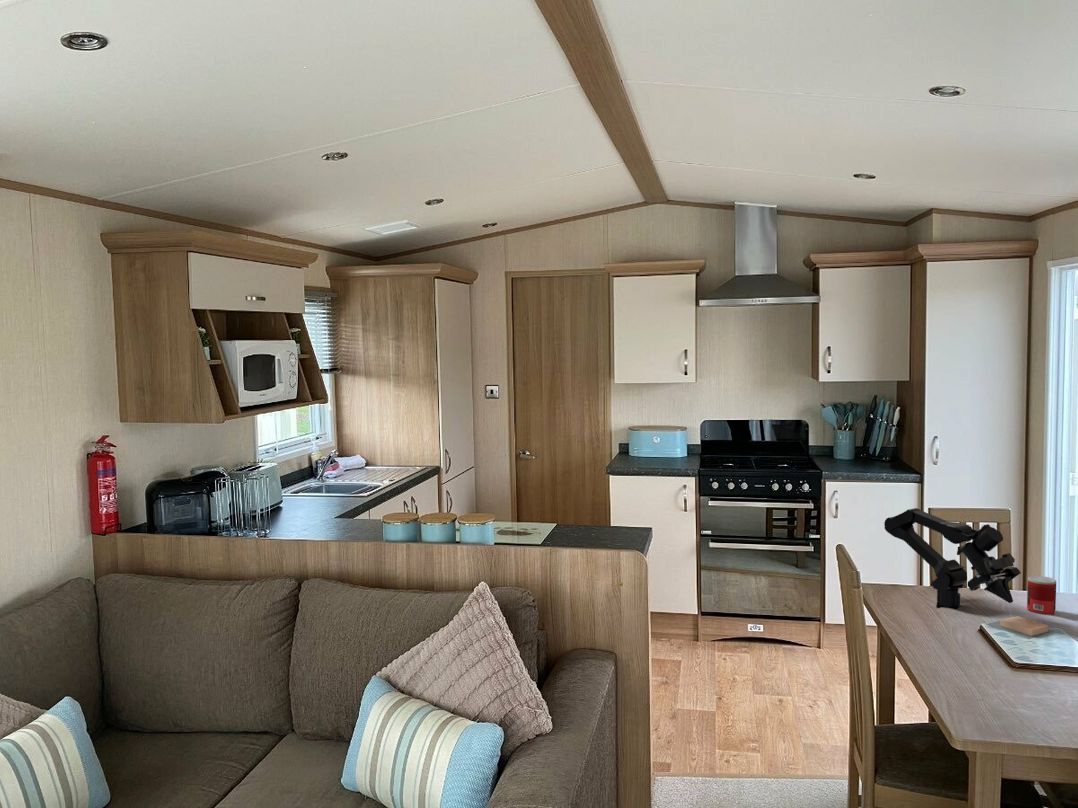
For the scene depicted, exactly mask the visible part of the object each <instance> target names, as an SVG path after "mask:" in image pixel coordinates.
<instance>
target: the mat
mask: <svg viewBox="0 0 1078 808" xmlns="http://www.w3.org/2000/svg"><path fill="white" fill-rule="evenodd" d="M985 625H986V626H989V627H991V628H995V629H997V630H1001V631H1003V632H1007V633H1010V634H1013V635H1016V636H1020V637H1023V638H1026V639H1032V638H1035V637H1040V636H1044V635H1046V634H1049V633H1053V632H1054V630H1051V629H1048V631H1047V632H1046V633H1042V634H1039V635H1035V636H1032V637H1031V636H1028V635H1025V634H1022V633H1019V632H1016V631H1013V630H1010V629H1007V628H1003V627H1001V626H1000V620H997V621H993V622H990V623H989V622H988V623H986V624H985Z"/></svg>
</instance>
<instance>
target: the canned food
mask: <svg viewBox="0 0 1078 808" xmlns="http://www.w3.org/2000/svg"><path fill="white" fill-rule="evenodd" d="M1026 588H1027V590H1026V591H1027V592H1026V593H1027V594H1026V595H1027V597H1026V608H1027V610H1028V611H1029V612H1031V613H1034V614H1038V615H1039V614H1040V615H1051V616H1054V615H1055V614H1056V605H1057V580H1056V579H1055V578H1053V577H1049V576H1044V575H1031V576H1028V578H1027V587H1026Z"/></svg>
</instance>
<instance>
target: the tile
mask: <svg viewBox="0 0 1078 808" xmlns="http://www.w3.org/2000/svg"><path fill="white" fill-rule="evenodd" d="M999 621H1000V626H1001V627H1003V628H1007V629H1010V630H1013V631H1016V632H1019V633H1022V634H1025V635H1028V636H1031V637H1032V636H1035V635H1039V634H1042V633H1046V632H1047V631H1048V630H1050V629H1049V625H1048V624H1045V623H1040V622H1038V621H1034V620H1032V619H1028V618H1025V617H1021V616H1018V615H1016V616H1012V617H1009V618H1004V619H1001V620H999Z"/></svg>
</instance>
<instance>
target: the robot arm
mask: <svg viewBox="0 0 1078 808" xmlns="http://www.w3.org/2000/svg"><path fill="white" fill-rule="evenodd" d="M914 524H918V525H921V526H923V527H925V528H927V529H930V530H932V531H935V532H936V533H939V534H941V535H942V536H943V538H944V539H945V540H947V541H949V542H950V543H952V544H955V545H959V544H963V543H964V545H959V546H957V551H956V555H957V556H961V555H964V556H965V557H966V559H967V560H968V562H969V563H970V565H972V566H971V567H970V569H971V570H972V571H976V572H977V574H976V575H974V576H973V577H972V578H971V579H969V580H968V575H967V574H968V572H967V571H966V570H965V566H962V565H961V564H960V563H959V562H958V561H957V560H956V559H950V560H947V559H945V558H944V557H943V556H942V555H941V554H940V553H939V552H937V550H936V549H934V548H933V547H932V546H931V545H930V544H929V543H928V542H926V540H925V539H924V538H923V537H921V536H920V535H919V534H918V533H917V532H916V530H915V527H914ZM883 525H884V530H885V531H886V532H887V534H889V535H891V536H892V537H894V538H896V539H899V540H902V541H903V542H905V543H906V544H907V545H908V546H909V547H910V548H911V549H912V550H913V551H914V552H916V554H917V555H919V557H921V558H922V559H923V560H924V562H926V563H927V564H928V565H929V566H930V567H931V568H932V569H933V571H934V573H935V577H936V578H935V579H934V580H933V581H932V582H931V585H932V588H933V589H934V590H936V603H935V604H936V606H935V607H936V608H937V609H941V608H943V609H951V610H959V608H960V607H961V593H960V592H959V589H963V587H964V585H965V584H966V583H967V587H968V589H969V590H970V591H971V592H973V591H976V590H977V591H978V589H979V586H980V585H985V588H983V590H984V591H987V592H990V593H991V594H993V595H995V596H996V597H999V598H1000V599H1002V600H1003V601H1005V602H1006V603H1009V604H1012V603H1013V602H1014V599H1013V596H1012V593H1011V590H1010V587H1009V582H1011V581H1013V580H1015V578H1017V577H1018V576H1019V575H1021V573H1022V572H1021V571H1020V569H1018V567H1016V566H1015V564H1014V563H1015V561H1016V559H1015V558H1014V557H1013V555H1011V553H1010V552H1008V553H1005V554H1002V555H1001V557H998V558H995V556H992V555H991V556H989V555H988V553H987V552H991V551H992V550H993V549H994V548H995V547H997V546H998V545H1000V544H1001V542H1003V541H1004V536H1003V533H1001V531H999V530H998V529H996V528H994V527H992V526H991V525H990V524H988V523H987V524H984V525H982V526H981V527H980V529H978V530H977V529H973V527H972V526H971V525H969V524H966V523H961V522H952V521H949V520H948V521H947V520H946V519H943V518H942V517H938V516H935V515H934V514H931V513H928V512H925V511H923V510H922V509H920V508H918V507H914V508H909V509H906V510H905V511H904V512H902V513H899V514H897V515H895V516H890V517H887V518H885V520H884V524H883ZM967 580H968V581H967Z"/></svg>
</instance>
